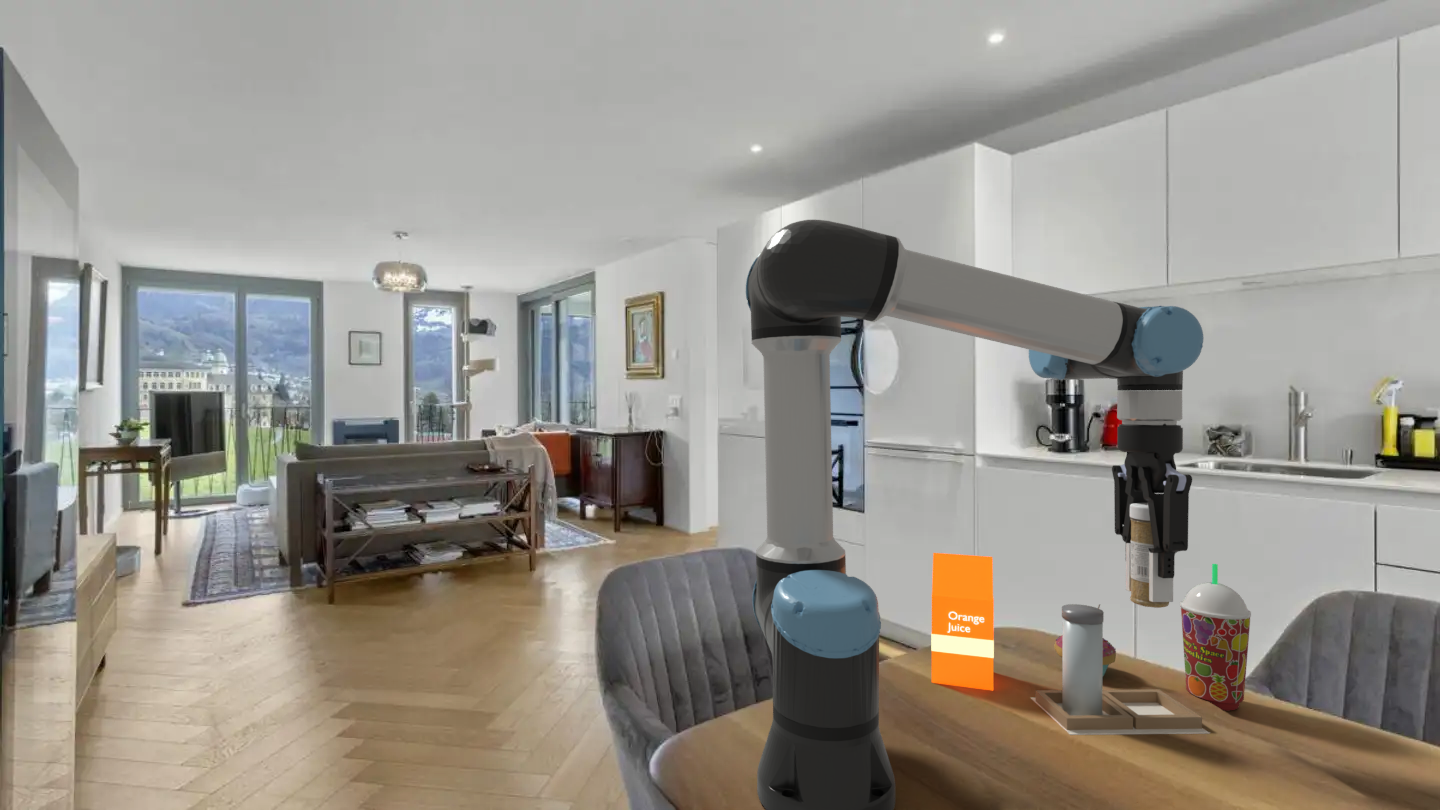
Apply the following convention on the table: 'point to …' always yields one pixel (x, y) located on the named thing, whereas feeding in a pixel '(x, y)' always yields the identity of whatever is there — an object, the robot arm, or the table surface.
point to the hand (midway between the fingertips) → (1148, 595)
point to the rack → (1125, 714)
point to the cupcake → (1108, 651)
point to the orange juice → (962, 621)
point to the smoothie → (1215, 643)
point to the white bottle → (1082, 659)
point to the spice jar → (1141, 555)
